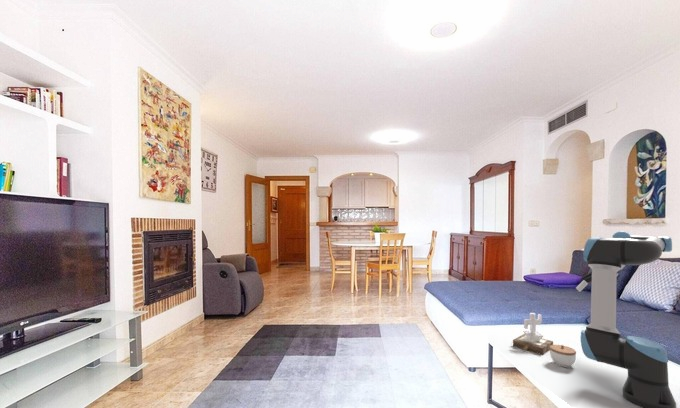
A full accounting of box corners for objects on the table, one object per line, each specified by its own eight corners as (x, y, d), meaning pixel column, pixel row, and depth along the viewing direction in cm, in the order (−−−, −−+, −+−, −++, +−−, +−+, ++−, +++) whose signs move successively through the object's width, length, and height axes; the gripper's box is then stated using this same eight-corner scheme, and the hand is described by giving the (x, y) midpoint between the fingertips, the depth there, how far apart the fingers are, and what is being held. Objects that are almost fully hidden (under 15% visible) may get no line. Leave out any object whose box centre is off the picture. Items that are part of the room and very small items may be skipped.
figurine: (521, 337, 183) (520, 311, 184) (538, 337, 183) (537, 311, 184) (528, 342, 176) (527, 314, 177) (545, 342, 176) (544, 315, 177)
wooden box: (540, 356, 166) (540, 348, 167) (510, 347, 178) (510, 340, 178) (553, 347, 179) (553, 340, 179) (524, 340, 190) (524, 333, 191)
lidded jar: (581, 370, 151) (580, 350, 152) (555, 368, 153) (555, 348, 154) (569, 361, 162) (569, 342, 162) (546, 359, 164) (545, 340, 164)
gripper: (640, 273, 162) (611, 303, 161) (600, 267, 187) (575, 292, 186) (629, 263, 162) (600, 292, 162) (591, 257, 187) (566, 283, 186)
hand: (587, 292), depth 174 cm, fingers open, 13 cm apart
